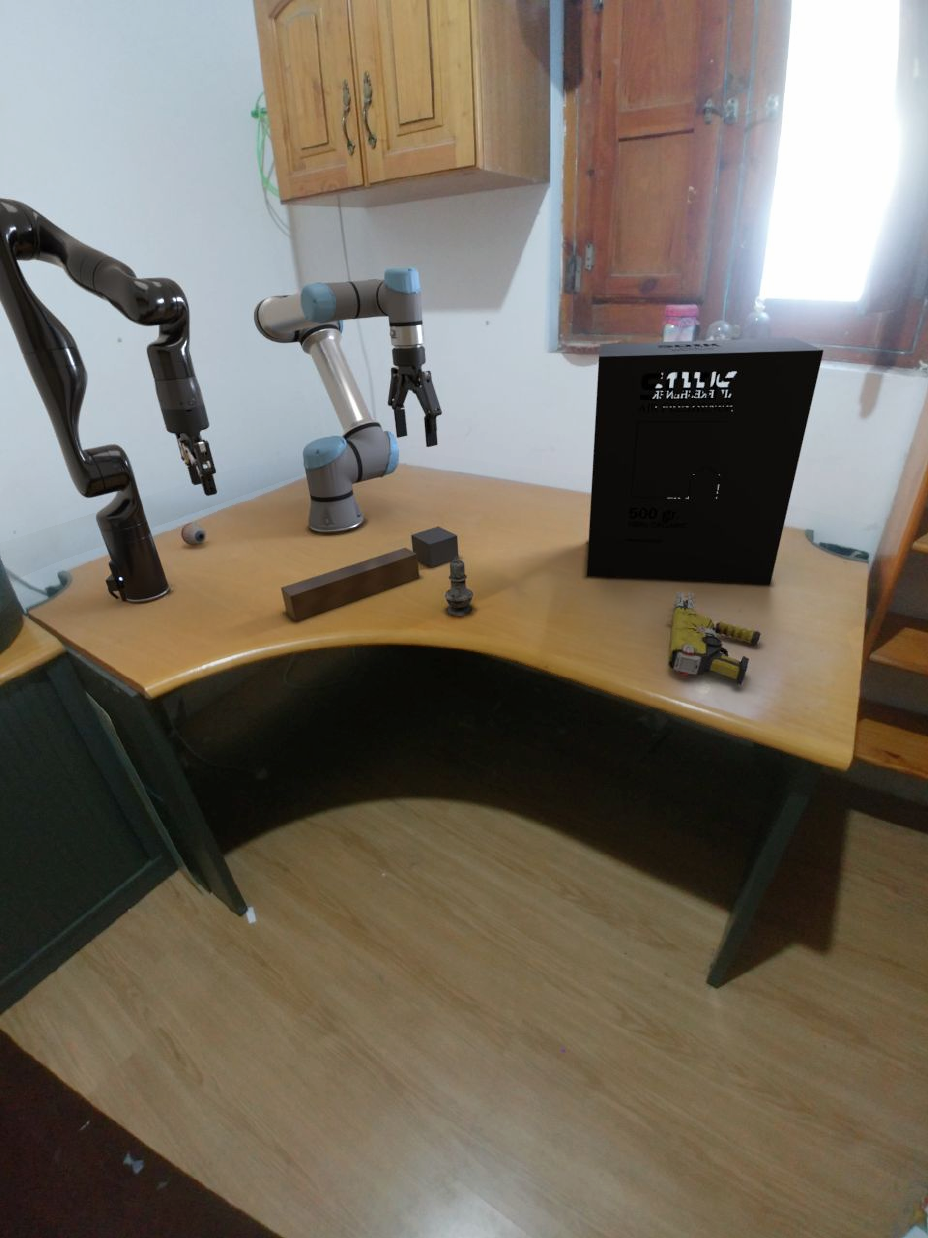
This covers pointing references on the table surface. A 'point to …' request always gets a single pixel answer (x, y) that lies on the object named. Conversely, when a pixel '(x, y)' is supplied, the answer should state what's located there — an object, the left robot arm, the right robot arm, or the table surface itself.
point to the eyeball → (193, 534)
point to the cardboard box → (696, 457)
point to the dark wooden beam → (349, 584)
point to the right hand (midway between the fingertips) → (416, 441)
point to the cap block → (435, 546)
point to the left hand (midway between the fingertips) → (204, 489)
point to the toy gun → (704, 643)
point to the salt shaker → (458, 590)
